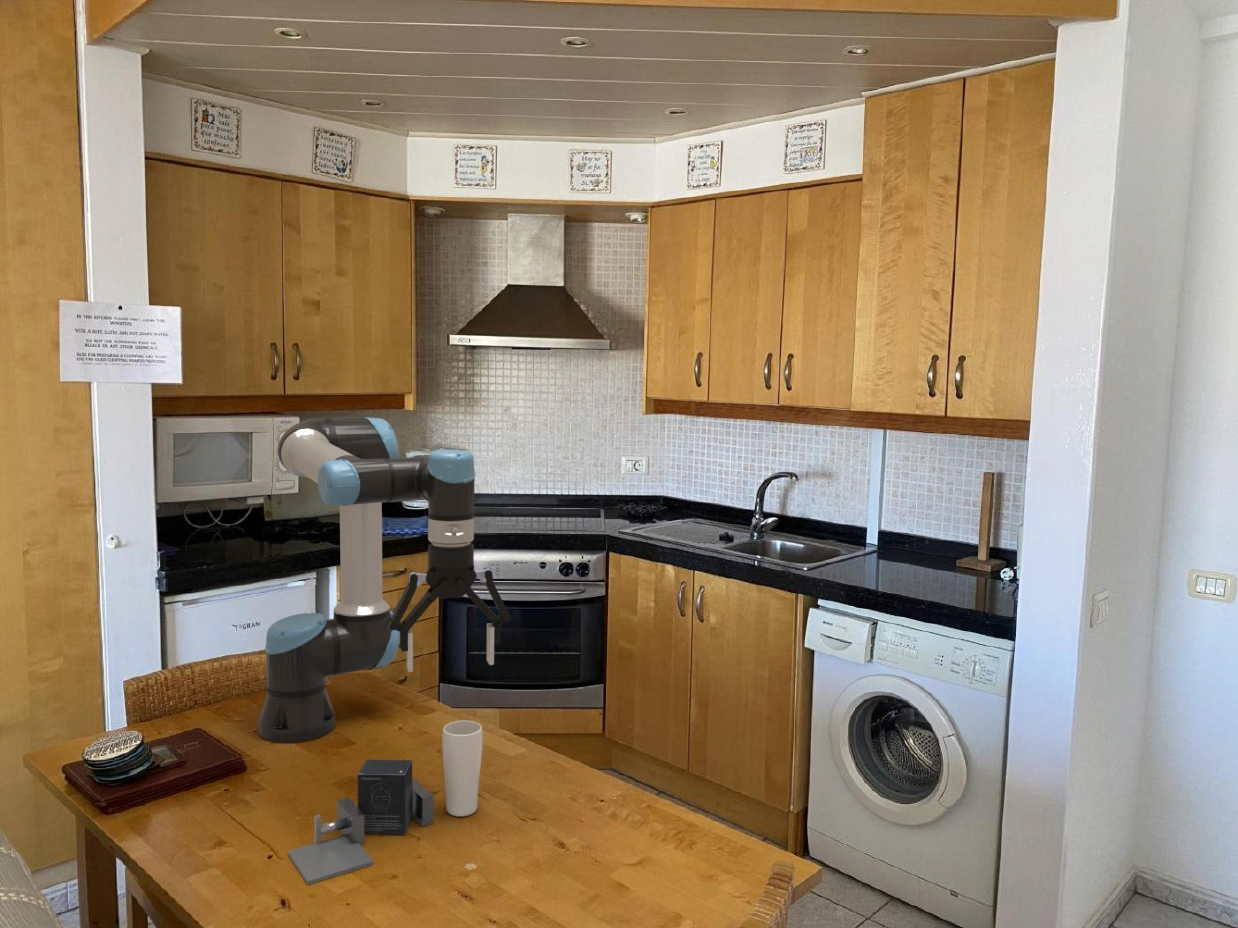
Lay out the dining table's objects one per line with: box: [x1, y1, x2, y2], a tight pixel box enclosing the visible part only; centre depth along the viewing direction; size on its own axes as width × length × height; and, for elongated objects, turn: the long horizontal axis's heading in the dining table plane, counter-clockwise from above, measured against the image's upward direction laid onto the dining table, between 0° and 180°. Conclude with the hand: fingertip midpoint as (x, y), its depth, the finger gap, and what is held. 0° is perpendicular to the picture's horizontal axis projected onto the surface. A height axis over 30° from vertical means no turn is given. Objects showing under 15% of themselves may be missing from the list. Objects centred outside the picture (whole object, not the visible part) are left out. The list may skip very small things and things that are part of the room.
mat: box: [287, 834, 374, 886], centre depth 143 cm, size 10×10×1 cm
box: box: [357, 759, 414, 835], centre depth 153 cm, size 8×6×11 cm
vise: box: [313, 778, 435, 846], centre depth 151 cm, size 7×19×5 cm, turn 126°
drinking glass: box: [441, 719, 483, 817], centre depth 158 cm, size 7×7×15 cm
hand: (450, 665), depth 156 cm, fingers open, 13 cm apart
